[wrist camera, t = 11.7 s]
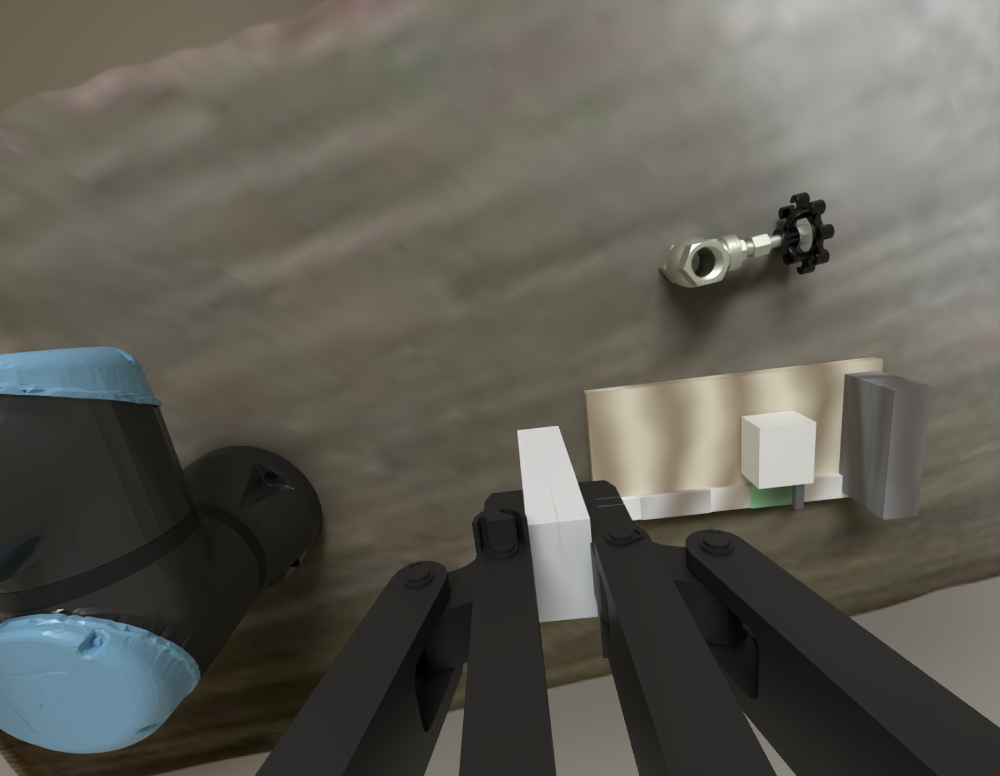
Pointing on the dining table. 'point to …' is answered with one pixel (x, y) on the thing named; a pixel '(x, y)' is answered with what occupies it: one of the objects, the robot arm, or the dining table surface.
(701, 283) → the valve
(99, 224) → the dining table surface
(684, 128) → the dining table surface
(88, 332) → the dining table surface
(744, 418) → the white rectangular block
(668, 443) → the board
